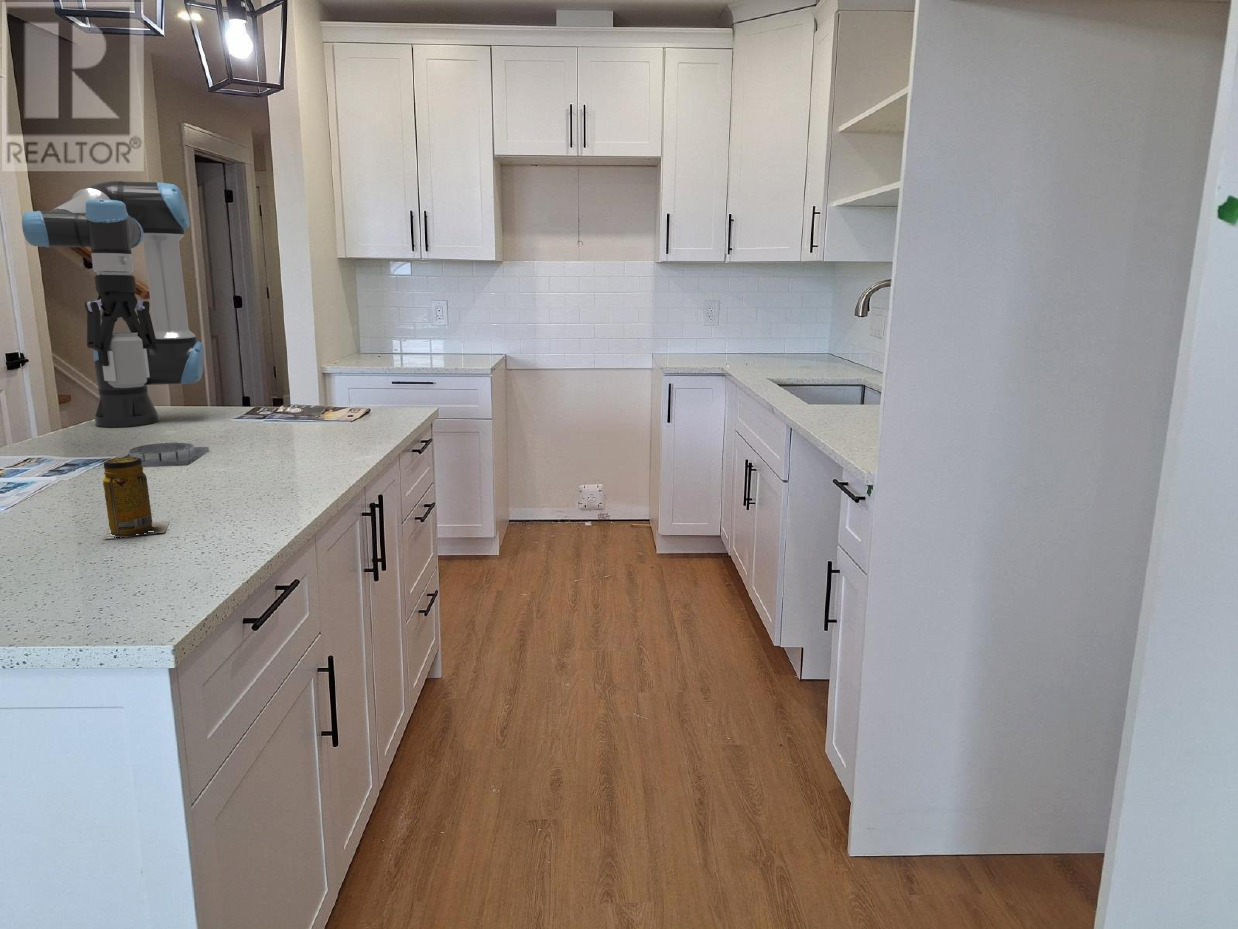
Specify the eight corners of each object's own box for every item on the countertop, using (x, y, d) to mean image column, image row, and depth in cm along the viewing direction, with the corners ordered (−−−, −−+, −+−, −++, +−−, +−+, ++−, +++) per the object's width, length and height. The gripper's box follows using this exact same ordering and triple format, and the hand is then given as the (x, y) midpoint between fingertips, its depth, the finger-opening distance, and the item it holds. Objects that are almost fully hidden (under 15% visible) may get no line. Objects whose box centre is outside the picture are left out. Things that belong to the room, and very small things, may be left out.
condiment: (111, 527, 132) (101, 456, 130) (169, 522, 136) (161, 452, 133) (104, 540, 126) (93, 466, 123) (165, 534, 129) (156, 462, 127)
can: (155, 384, 183) (148, 331, 180) (131, 388, 175) (124, 333, 173) (125, 384, 184) (118, 331, 181) (100, 387, 176) (93, 332, 174)
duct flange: (140, 452, 188) (138, 442, 187) (208, 450, 190) (207, 440, 190) (113, 467, 173) (111, 456, 173) (187, 465, 176) (186, 454, 175)
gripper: (80, 273, 164) (95, 384, 169) (167, 274, 182) (179, 375, 187) (55, 273, 166) (71, 382, 171) (144, 275, 185) (155, 374, 190)
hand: (127, 378), depth 179 cm, fingers closed on can, 7 cm apart
